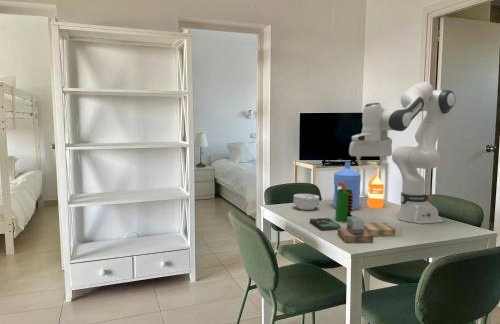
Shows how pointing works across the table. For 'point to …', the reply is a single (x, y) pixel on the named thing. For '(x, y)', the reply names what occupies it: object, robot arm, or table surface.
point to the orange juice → (375, 192)
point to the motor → (343, 203)
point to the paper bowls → (306, 201)
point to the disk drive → (325, 224)
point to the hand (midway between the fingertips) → (369, 165)
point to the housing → (355, 225)
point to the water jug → (348, 184)
